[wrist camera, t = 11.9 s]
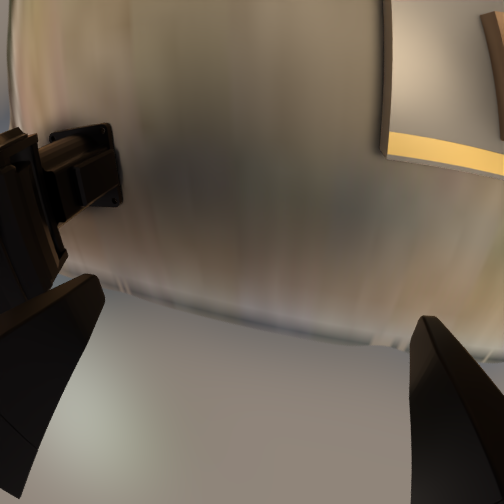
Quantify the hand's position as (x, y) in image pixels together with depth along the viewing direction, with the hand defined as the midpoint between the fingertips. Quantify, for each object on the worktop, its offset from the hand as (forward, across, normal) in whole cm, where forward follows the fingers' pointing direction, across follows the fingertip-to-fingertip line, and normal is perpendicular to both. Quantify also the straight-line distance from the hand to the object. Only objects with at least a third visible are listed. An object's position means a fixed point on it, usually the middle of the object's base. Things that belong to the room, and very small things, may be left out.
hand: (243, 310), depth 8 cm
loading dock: (+13, -14, -8) cm, 21 cm away
